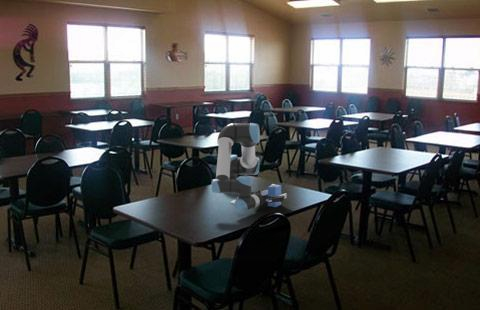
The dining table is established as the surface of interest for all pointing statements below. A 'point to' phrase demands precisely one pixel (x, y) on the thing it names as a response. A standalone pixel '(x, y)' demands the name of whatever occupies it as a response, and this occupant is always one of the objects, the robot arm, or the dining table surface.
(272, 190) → the blue drink carton
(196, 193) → the dining table surface
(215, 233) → the dining table surface
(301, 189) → the dining table surface
